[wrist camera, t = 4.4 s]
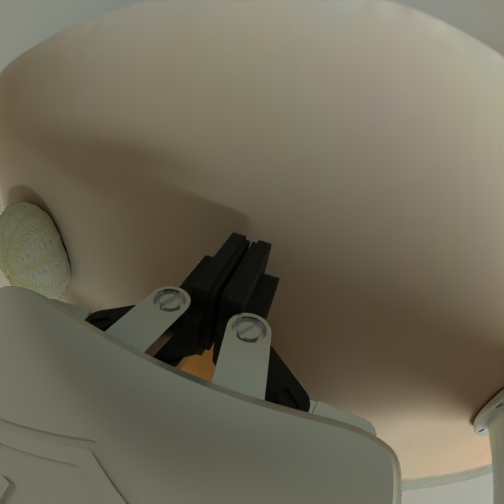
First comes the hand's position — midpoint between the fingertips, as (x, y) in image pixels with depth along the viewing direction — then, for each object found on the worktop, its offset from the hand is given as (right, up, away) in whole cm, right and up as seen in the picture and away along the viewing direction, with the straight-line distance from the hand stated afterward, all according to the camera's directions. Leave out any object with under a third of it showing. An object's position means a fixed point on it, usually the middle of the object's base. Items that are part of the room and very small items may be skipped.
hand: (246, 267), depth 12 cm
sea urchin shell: (-18, +2, +7) cm, 19 cm away
